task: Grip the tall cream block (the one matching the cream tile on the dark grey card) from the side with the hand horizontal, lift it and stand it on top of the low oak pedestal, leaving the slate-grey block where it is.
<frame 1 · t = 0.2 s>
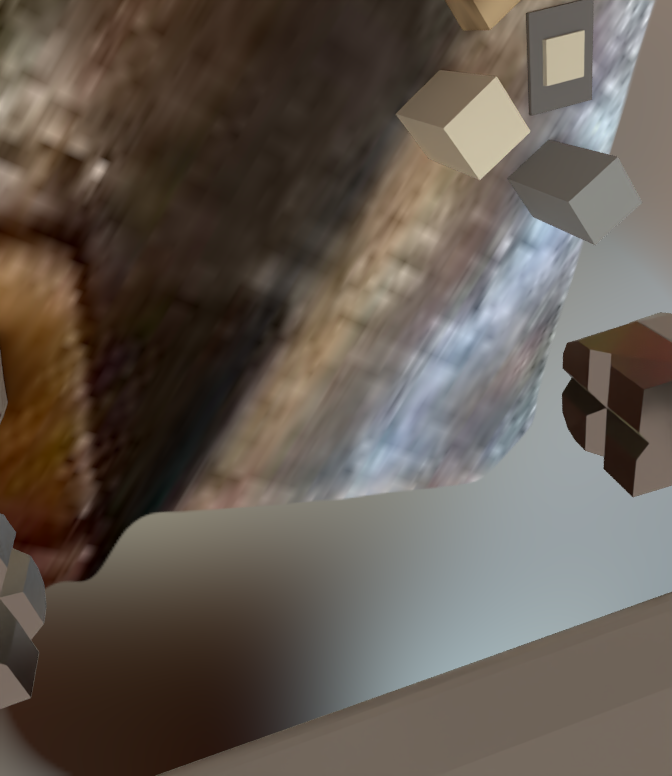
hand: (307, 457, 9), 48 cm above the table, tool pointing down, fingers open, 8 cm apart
cream block: (433, 115, 55), on the table
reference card: (559, 58, 55), on the table
grey block: (540, 179, 60), on the table
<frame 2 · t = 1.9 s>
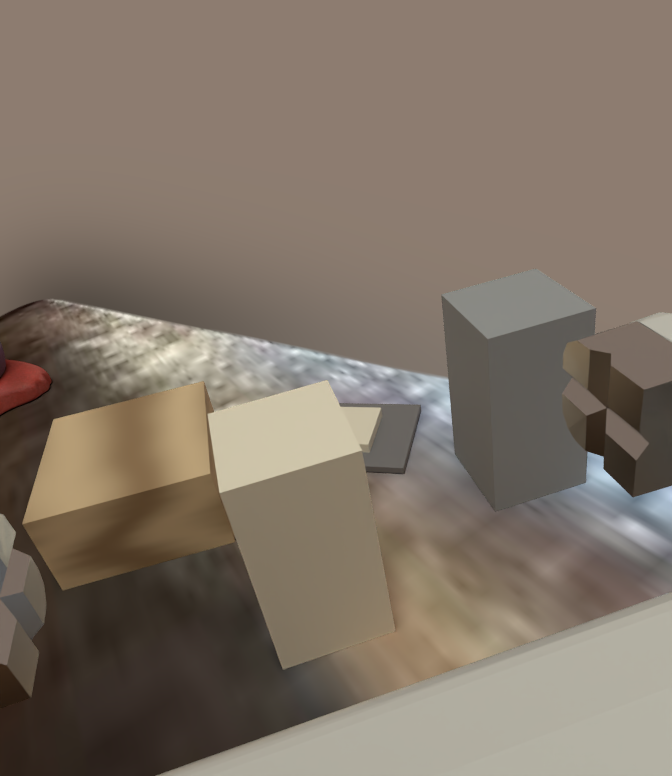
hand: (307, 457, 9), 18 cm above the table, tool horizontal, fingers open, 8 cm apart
oak pedestal: (154, 511, 37), on the table
cream block: (325, 604, 29), on the table
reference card: (348, 437, 39), on the table
grey block: (516, 467, 34), on the table
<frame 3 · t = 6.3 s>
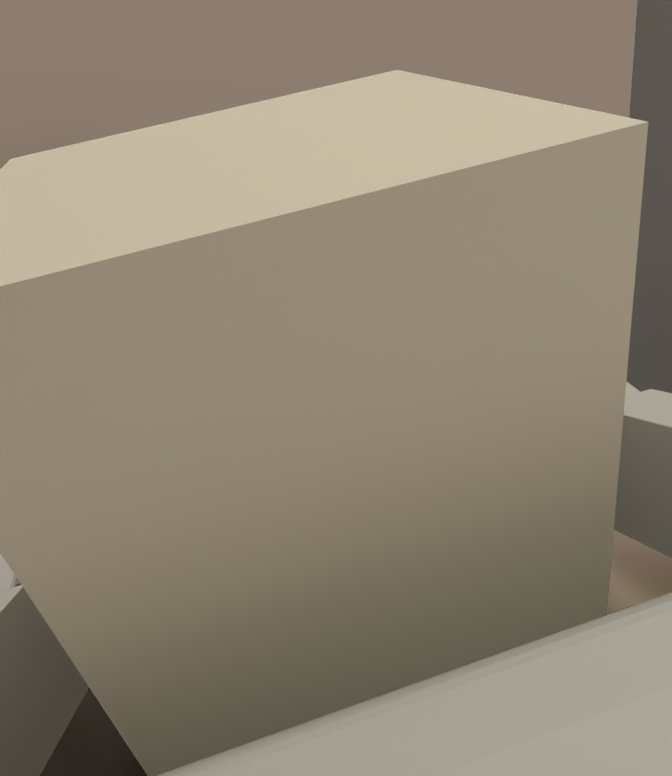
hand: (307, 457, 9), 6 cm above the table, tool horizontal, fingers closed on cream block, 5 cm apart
cream block: (379, 726, 11), on the table, touching gripper
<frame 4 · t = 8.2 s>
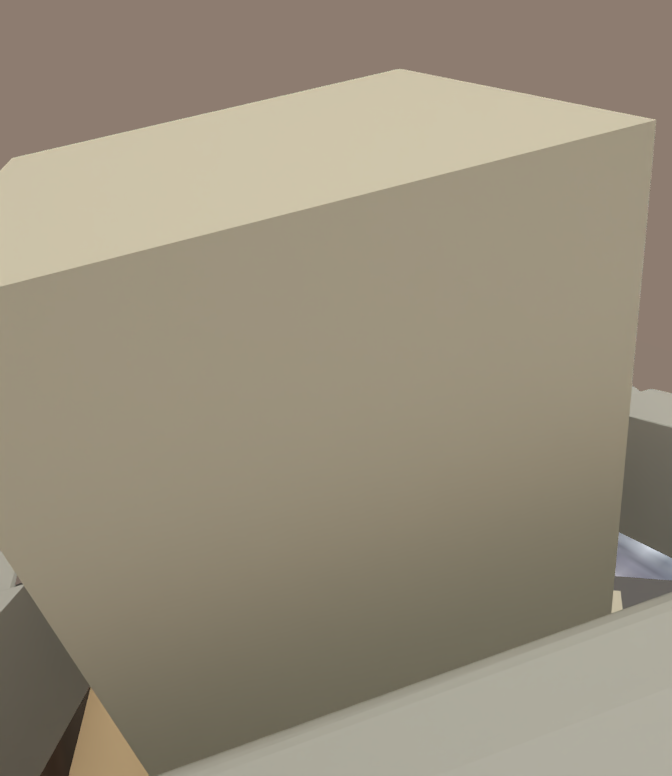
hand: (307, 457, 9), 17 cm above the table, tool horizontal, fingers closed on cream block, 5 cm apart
cream block: (381, 726, 11), point 11 cm above the table, touching gripper
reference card: (571, 643, 24), on the table
when the fingers open (12 cm above the table, at t = 10.3 s): cream block drops 1 cm, resting on oak pedestal.
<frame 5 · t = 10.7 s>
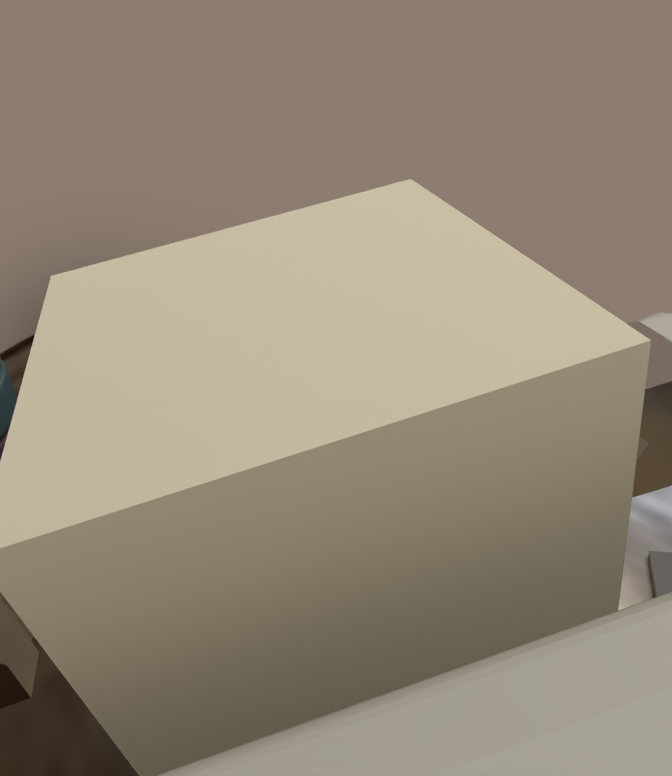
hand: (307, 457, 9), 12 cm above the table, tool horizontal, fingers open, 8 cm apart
cream block: (392, 762, 12), point 5 cm above the table, touching oak pedestal
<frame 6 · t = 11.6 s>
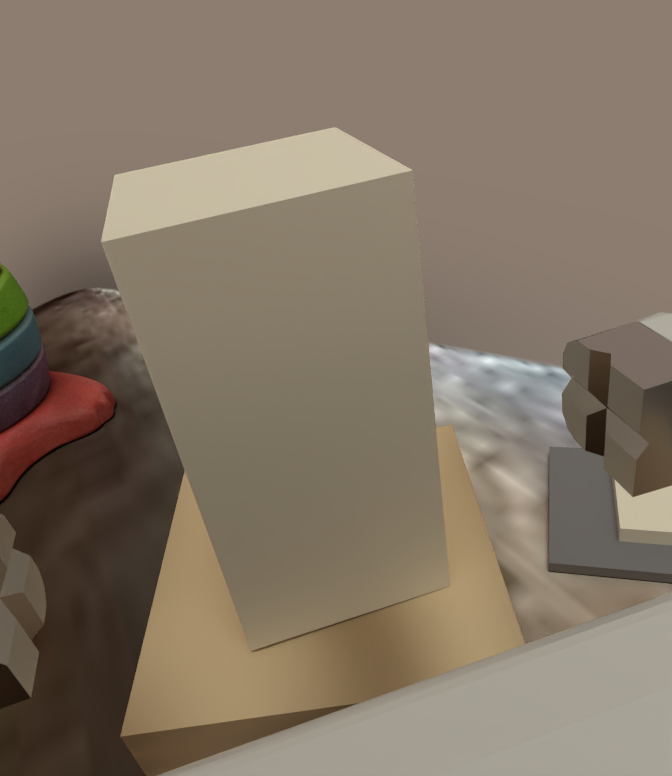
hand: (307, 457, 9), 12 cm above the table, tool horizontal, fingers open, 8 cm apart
oak pedestal: (349, 658, 20), on the table, touching cream block
cream block: (327, 545, 17), point 5 cm above the table, touching oak pedestal
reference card: (670, 515, 22), on the table
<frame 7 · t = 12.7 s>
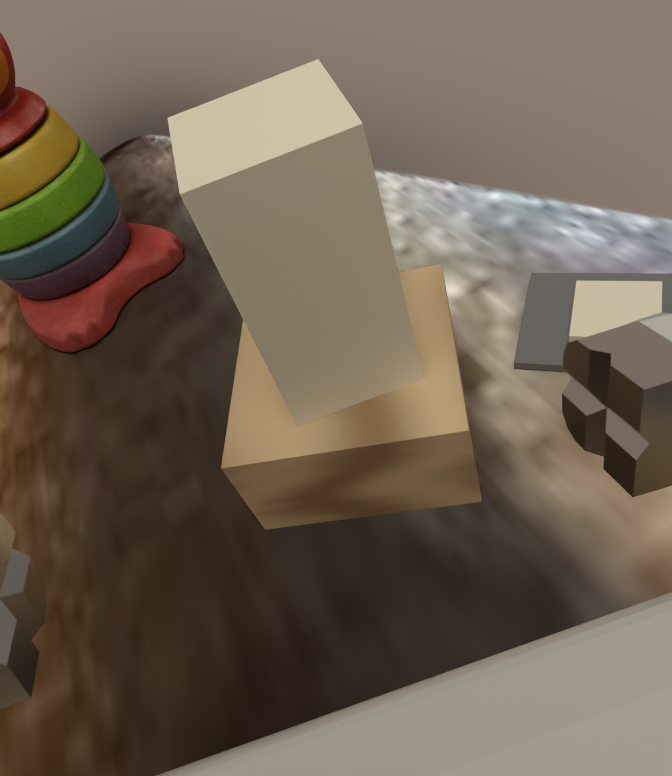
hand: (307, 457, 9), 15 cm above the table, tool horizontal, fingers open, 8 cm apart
stacking bear: (96, 288, 43), on the table
oak pedestal: (368, 431, 29), on the table
cream block: (343, 358, 25), point 5 cm above the table
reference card: (614, 324, 29), on the table
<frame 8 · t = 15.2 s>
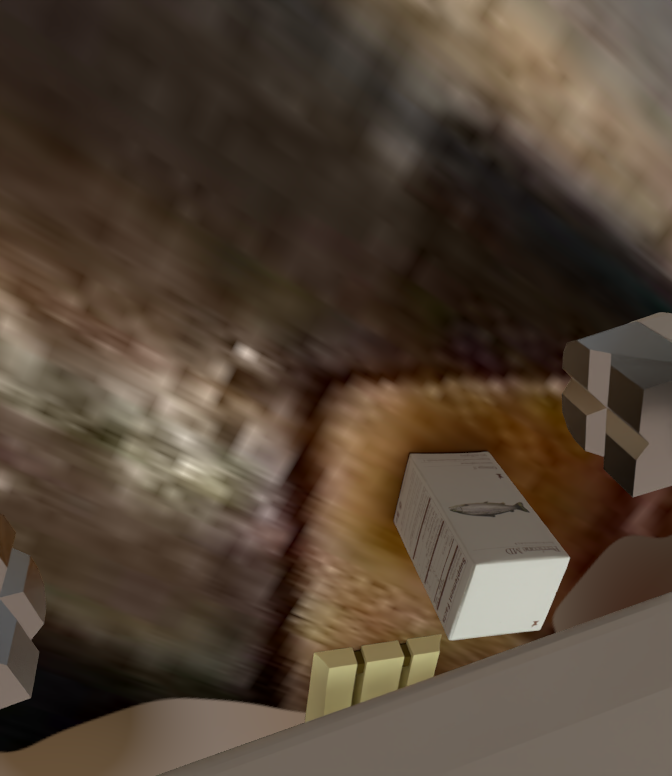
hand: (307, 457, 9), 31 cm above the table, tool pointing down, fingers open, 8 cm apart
slatted curved stool: (368, 694, 65), on the table
supplement box: (438, 484, 53), on the table
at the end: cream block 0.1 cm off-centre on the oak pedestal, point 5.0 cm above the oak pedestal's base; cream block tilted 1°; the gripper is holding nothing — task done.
